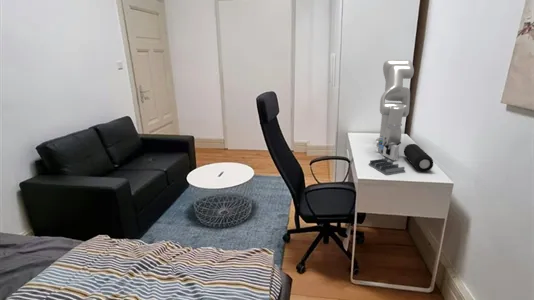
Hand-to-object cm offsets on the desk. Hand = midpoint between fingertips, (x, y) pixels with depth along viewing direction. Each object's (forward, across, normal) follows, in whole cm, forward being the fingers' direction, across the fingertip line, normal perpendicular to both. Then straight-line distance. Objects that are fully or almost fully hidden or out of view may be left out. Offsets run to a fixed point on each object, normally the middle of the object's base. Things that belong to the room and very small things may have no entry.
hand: (390, 153), depth 186 cm
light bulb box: (+4, -6, -9) cm, 12 cm away
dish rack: (+3, +12, +13) cm, 18 cm away
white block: (+2, 0, 0) cm, 2 cm away
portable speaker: (+4, -9, +13) cm, 16 cm away
